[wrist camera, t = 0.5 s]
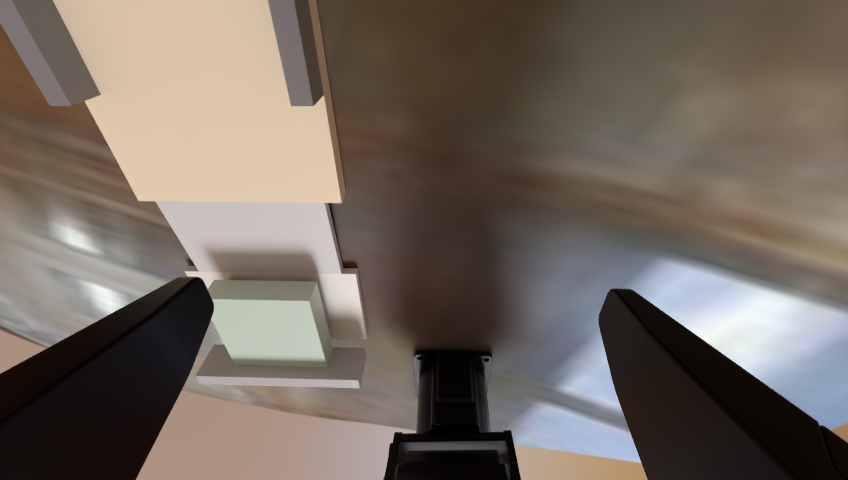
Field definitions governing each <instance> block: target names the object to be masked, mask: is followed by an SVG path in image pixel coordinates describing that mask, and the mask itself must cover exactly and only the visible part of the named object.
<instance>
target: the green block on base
mask: <svg viewBox="0 0 848 480" xmlns="http://www.w3.org/2000/svg"><path fill="white" fill-rule="evenodd" d="M208 291H209V294H210V296H211V298H212V300H213V303H214V312H213V315H212V318H211V320H212V322H213V324H214V326H215V328H216V330H217V332H218V334H219V335H220V337H221V339H222V341H223V343H224V345H214V346H213V347H212V349H211V351H210V352H209V354H208V356H207V357H206V359H205V361H204V362H203V364H202V366H201V367H200V369H199V371H198V372H197V374H196V378H197V380H198V381H199V383H200V384H223V385H260V386H297V387H334V388H360V385H361V380H362V374H363V369H364V364H365V359H366V353H365V348H340V347H333V345H332V341H331V337H330V333H329V329H328V325H327V321H326V317H325V313H324V309H323V305H322V301H321V297H320V293H319V289H318V285H317V281H309V280H305V281H259V280H236V279H229V280H214V281H213V282H212V284H211V285H210V286H209V288H208Z"/></svg>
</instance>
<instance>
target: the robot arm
mask: <svg viewBox="0 0 848 480" xmlns="http://www.w3.org/2000/svg"><path fill="white" fill-rule="evenodd" d="M213 312H214V303H213V300H212V298H211V296H210V294H209V291H208V289H207V287H206V285H205V282H204V281H203V280H202V279H201V278H200V277H192V276H182V277H178V278H176V279H175V280H173V281H171V282H169V283H167V284H165V285H163V286H162V287H160V288H158V289H156V290H154V291H152V292H151V293H149V294H147V295H145V296H143V297H141V298H139V299H138V300H136V301H134V302H132V303H130V304H128V305H126V306H125V307H123V308H121V309H119V310H117V311H115V312H114V313H112V314H110V315H108V316H106V317H104V318H102V319H101V320H99V321H97V322H95V323H93V324H91V325H90V326H88V327H86V328H84V329H82V330H80V331H78V332H77V333H75V334H73V335H71V336H69V337H67V338H66V339H64V340H62V341H60V342H58V343H56V344H54V345H53V346H51V347H49V348H47V349H45V350H44V351H42V352H40V353H38V354H36V355H34V356H32V357H30V358H29V359H27V360H25V361H23V362H21V363H19V364H18V365H16V366H14V367H12V368H10V369H8V370H6V371H5V372H3V373H1V374H0V480H136V478H137V476H138V474H139V472H140V470H141V468H142V466H143V464H144V462H145V460H146V458H147V456H148V455H149V453H150V451H151V449H152V447H153V445H154V443H155V441H156V439H157V437H158V435H159V433H160V431H161V429H162V427H163V425H164V423H165V421H166V419H167V418H168V416H169V414H170V411H171V410H172V408H173V406H174V404H175V402H176V400H177V398H178V396H179V394H180V392H181V390H182V388H183V386H184V384H185V382H186V380H187V378H188V376H189V374H190V371H191V369H192V367H193V364H194V362H195V359H196V357H197V354H198V352H199V349H200V346H201V344H202V341H203V339H204V336H205V333H206V331H207V328H208V326H209V323H210V321H211V318H212V315H213ZM599 327H600V331H601V336H602V340H603V344H604V348H605V352H606V356H607V360H608V364H609V368H610V372H611V376H612V380H613V384H614V387H615V391H616V394H617V397H618V400H619V403H620V405H621V408H622V411H623V413H624V416H625V419H626V422H627V424H628V427H629V430H630V432H631V435H632V438H633V441H634V443H635V446H636V449H637V451H638V454H639V457H640V460H641V462H642V465H643V468H644V470H645V473H646V476H647V479H648V480H848V443H847V442H846V441H844V440H843V439H842V438H840V437H839V436H837V435H836V434H835V433H833V432H832V431H831V430H829V429H828V428H826V427H825V426H822V425H820V426H819V423H818V422H817V421H816V420H815V419H813V418H812V417H811V416H809V415H808V414H806V413H805V412H804V411H802V410H801V409H799V408H798V407H797V406H795V405H794V404H792V403H791V402H789V401H788V400H787V399H785V398H784V397H782V396H781V395H780V394H778V393H777V392H775V391H774V390H773V389H771V388H770V387H768V386H767V385H766V384H764V383H763V382H761V381H760V380H759V379H757V378H756V377H754V376H753V375H751V374H750V373H749V372H747V371H746V370H744V369H743V368H742V367H740V366H739V365H737V364H736V363H735V362H733V361H732V360H730V359H729V358H728V357H726V356H725V355H723V354H722V353H721V352H719V351H718V350H716V349H715V348H713V347H712V346H711V345H709V344H708V343H706V342H705V341H704V340H702V339H701V338H699V337H698V336H697V335H695V334H694V333H692V332H691V331H690V330H688V329H687V328H685V327H684V326H683V325H681V324H680V323H678V322H677V321H675V320H674V319H673V318H671V317H670V316H668V315H667V314H666V313H664V312H663V311H661V310H660V309H659V308H657V307H656V306H654V305H653V304H652V303H650V302H649V301H647V300H646V299H645V298H643V297H642V296H640V295H639V294H637V293H636V292H635V291H633V290H631V289H611V290H610V291H609V292H608V294H607V296H606V299H605V301H604V304H603V306H602V309H601V312H600V314H599ZM491 366H492V354H491V353H489V352H461V351H416V352H415V353H414V372H415V395H416V396H417V397H418V413H417V433H413V434H402V432H399V433H398V432H395V434H394V439H393V443H391V444H390V448H389V457H388V462H387V468H386V473H385V476H384V480H521V478H520V473H519V468H518V463H517V458H516V453H515V448H514V443H513V438H512V433H511V430H506V431H503V432H491V429H490V420H489V410H488V401H487V390H488V384H489V378H490V372H491Z"/></svg>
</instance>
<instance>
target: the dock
mask: <svg viewBox="0 0 848 480" xmlns="http://www.w3.org/2000/svg"><path fill="white" fill-rule="evenodd" d="M0 23H1V25H2V27H3V28H4V30H5V32H6V33H7V35H8V37H9V38H10V40H11V42H12V43H13V45H14V47H15V48H16V50H17V52H18V53H19V55H20V57H21V58H22V60H23V62H24V63H25V65H26V67H27V68H28V70H29V72H30V73H31V75H32V77H33V78H34V80H35V82H36V83H37V85H38V87H39V88H40V90H41V92H42V93H43V95H44V97H45V98H46V100H47V102H48V103H49V105H50V106H73V105H75V104H78V103H81V102H83V101H85V103H86V105H87V106H88V108H89V110H90V112H91V114H92V116H93V117H94V119H95V121H96V123H97V125H98V127H99V129H100V130H101V132H102V134H103V136H104V138H105V140H106V141H107V143H108V145H109V147H110V149H111V151H112V153H113V154H114V156H115V158H116V160H117V162H118V164H119V165H120V167H121V169H122V171H123V173H124V175H125V177H126V178H127V180H128V182H129V184H130V186H131V188H132V190H133V191H134V193H135V195H136V197H137V199H138V201H156V203H157V205H158V206H159V208H160V209H161V211H162V213H163V214H164V216H165V218H166V219H167V221H168V222H169V224H170V226H171V227H172V229H173V231H174V232H175V234H176V235H177V237H178V239H179V240H180V242H181V243H182V245H183V247H184V248H185V250H186V252H187V253H188V255H189V256H190V258H191V260H192V261H193V263H194V264H195V266H189V267H188V268H187V269H186V270H185V273H186V275H187V276H192V277H200V278H201V279H202V280H203V281H204V282H205V285H206V287H207V289H208V288H209V286H210V285H211V284H212V282H213V281H214V280H229V279H236V280H259V281H305V280H309V281H317V285H318V289H319V293H320V297H321V301H322V305H323V309H324V313H325V317H326V321H327V325H328V329H329V333H330V337H331V339H355V340H366V339H367V327H366V320H365V314H364V307H363V301H362V294H361V288H360V281H359V275H358V268H343V265H342V260H341V256H340V252H339V247H338V243H337V239H336V234H335V230H334V226H333V221H332V217H331V213H330V208H329V204H328V203H342V201H343V199H344V196H345V194H346V190H345V184H344V177H343V171H342V164H341V158H340V151H339V144H338V138H337V131H336V125H335V118H334V112H333V105H332V99H331V92H330V86H329V79H328V73H327V66H326V60H325V53H324V47H323V40H322V34H321V27H320V21H319V14H318V8H317V1H316V0H0ZM211 322H212V320H211ZM212 324H213V322H212ZM213 326H214V324H213ZM214 328H215V326H214ZM215 330H216V328H215ZM216 332H217V330H216ZM217 334H218V332H217ZM218 336H220V335H219V334H218Z"/></svg>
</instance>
